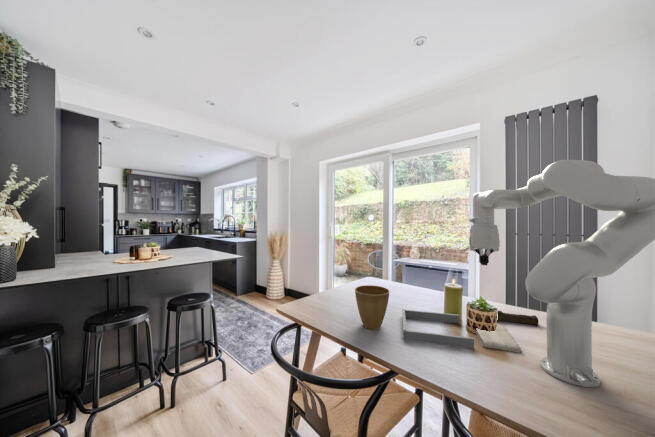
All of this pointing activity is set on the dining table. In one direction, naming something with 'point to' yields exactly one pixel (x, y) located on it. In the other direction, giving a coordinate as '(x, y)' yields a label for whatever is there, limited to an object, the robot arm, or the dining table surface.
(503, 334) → the washcloth
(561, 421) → the dining table surface
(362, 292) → the plant pot
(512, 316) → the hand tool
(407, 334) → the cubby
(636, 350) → the dining table surface
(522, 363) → the dining table surface
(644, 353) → the dining table surface
